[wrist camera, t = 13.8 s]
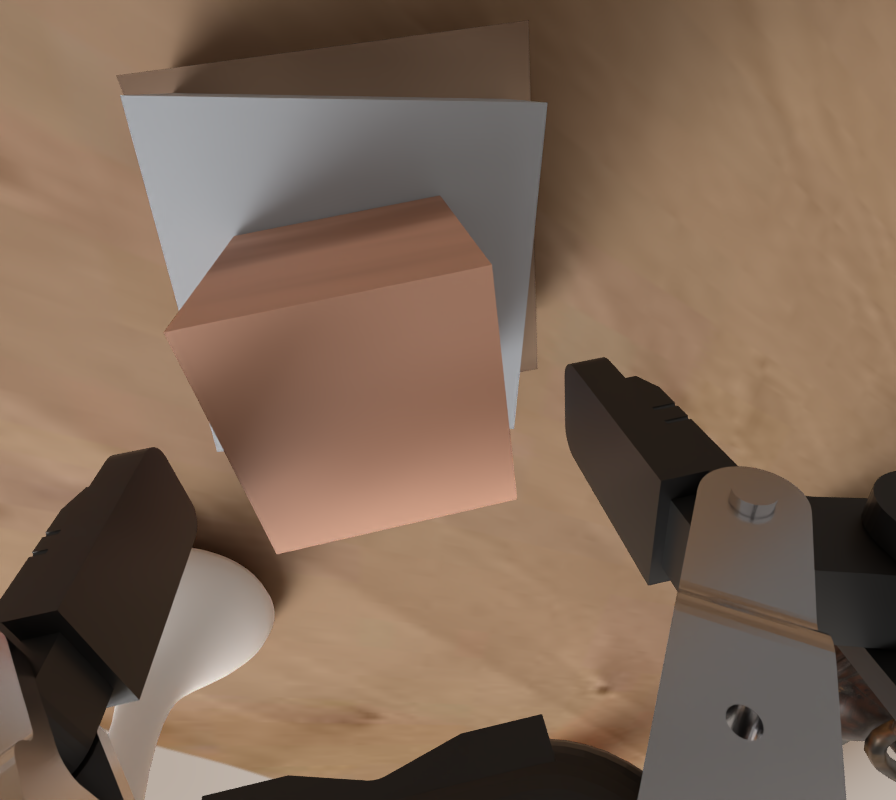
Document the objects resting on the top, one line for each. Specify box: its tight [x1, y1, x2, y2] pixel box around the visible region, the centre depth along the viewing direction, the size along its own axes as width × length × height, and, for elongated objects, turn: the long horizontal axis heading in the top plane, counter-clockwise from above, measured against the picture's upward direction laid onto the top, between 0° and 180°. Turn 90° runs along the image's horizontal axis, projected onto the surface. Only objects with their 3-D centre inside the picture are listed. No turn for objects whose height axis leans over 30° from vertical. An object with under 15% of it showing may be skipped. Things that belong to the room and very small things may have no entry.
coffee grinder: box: [834, 645, 896, 782], centre depth 33 cm, size 16×11×18 cm
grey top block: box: [120, 93, 548, 452], centre depth 16 cm, size 10×10×4 cm
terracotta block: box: [163, 195, 517, 554], centre depth 12 cm, size 6×6×6 cm
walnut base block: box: [116, 20, 538, 372], centre depth 20 cm, size 12×12×5 cm
